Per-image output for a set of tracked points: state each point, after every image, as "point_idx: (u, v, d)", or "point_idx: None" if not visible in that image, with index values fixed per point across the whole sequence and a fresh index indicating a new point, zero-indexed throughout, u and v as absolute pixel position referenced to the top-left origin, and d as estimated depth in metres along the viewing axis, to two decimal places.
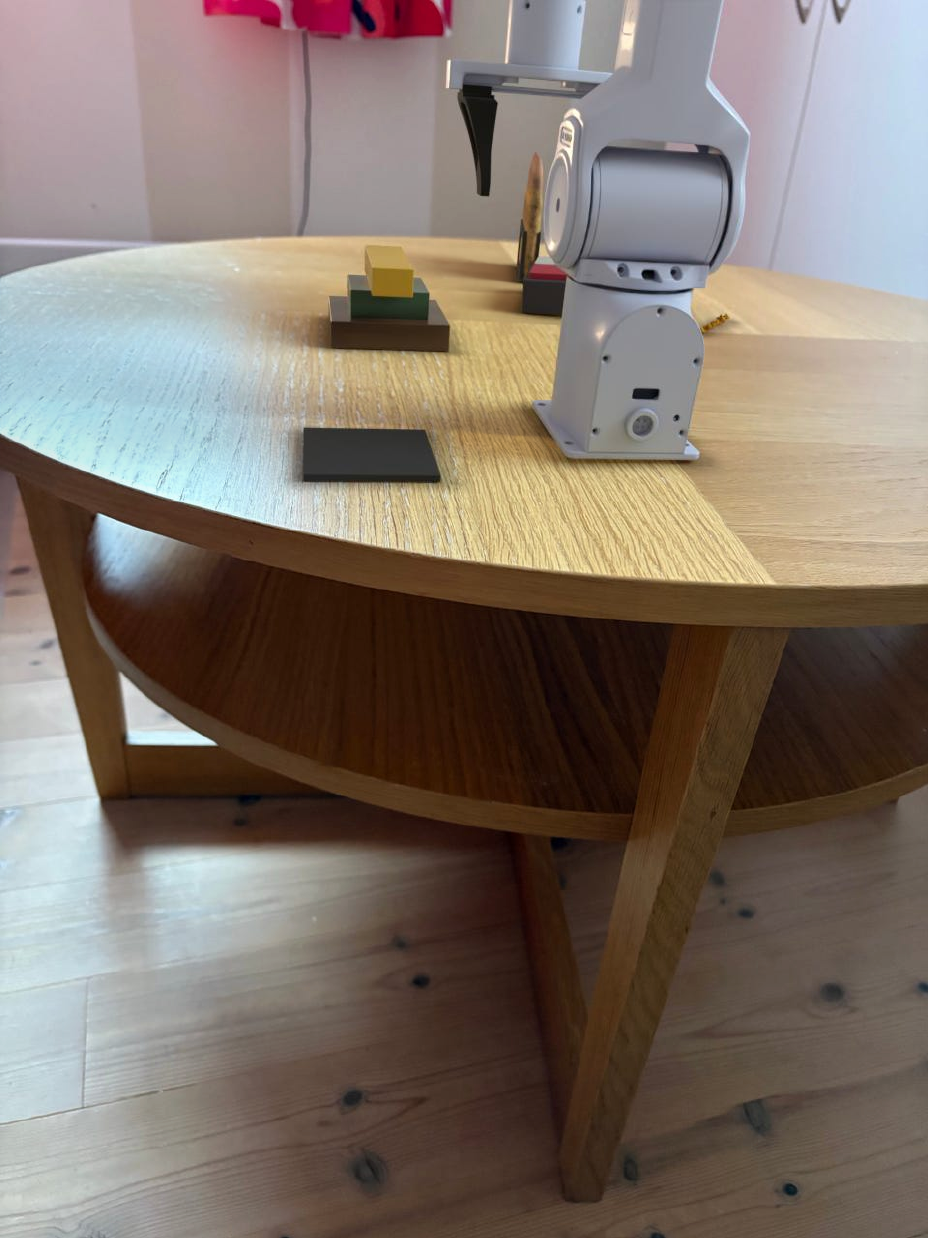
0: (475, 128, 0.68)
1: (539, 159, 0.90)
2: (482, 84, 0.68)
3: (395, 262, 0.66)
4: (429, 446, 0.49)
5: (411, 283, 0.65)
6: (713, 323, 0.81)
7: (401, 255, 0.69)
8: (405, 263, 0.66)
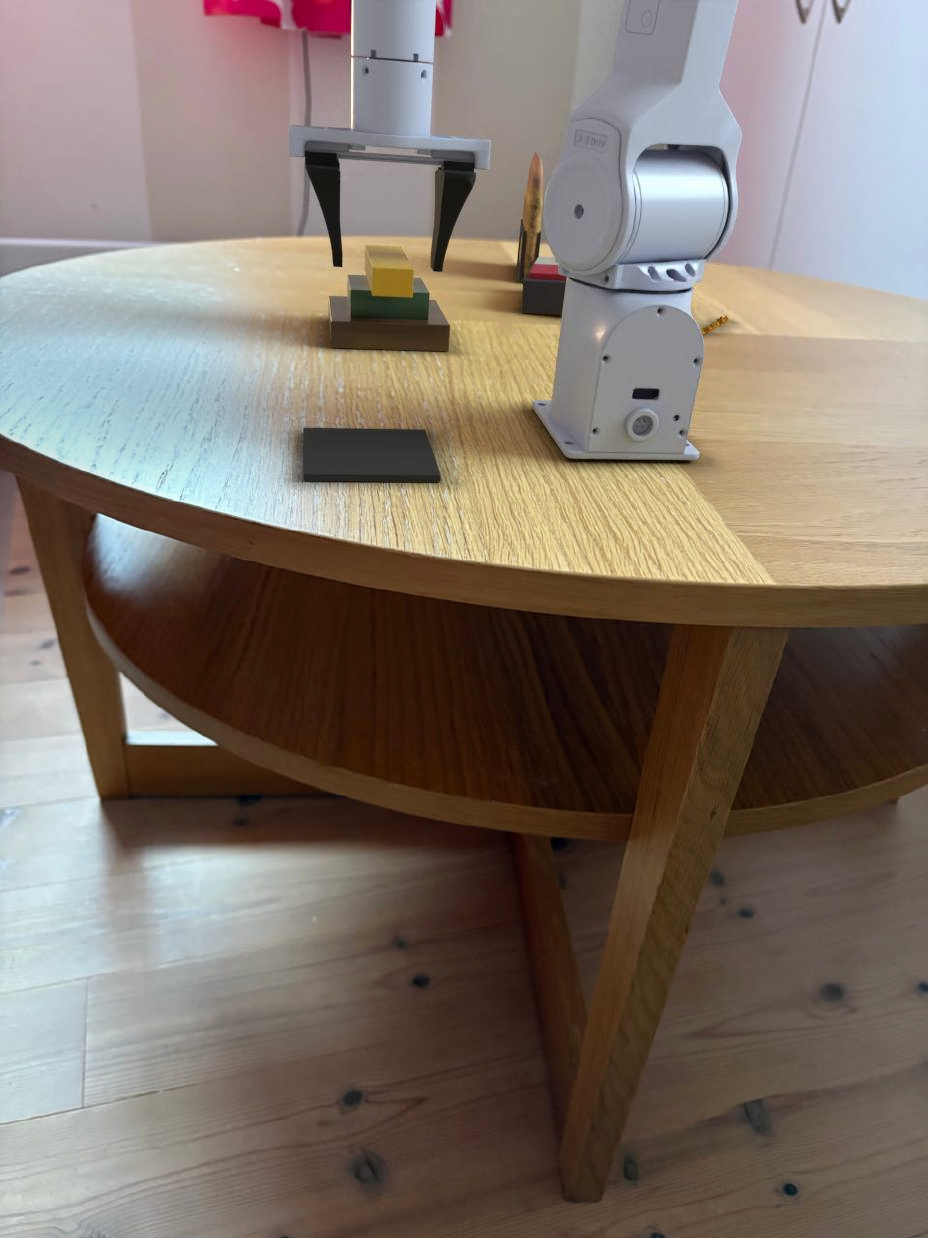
0: (319, 198, 0.64)
1: (539, 159, 0.90)
2: (327, 151, 0.64)
3: (395, 262, 0.66)
4: (429, 446, 0.49)
5: (411, 283, 0.65)
6: (713, 325, 0.81)
7: (401, 255, 0.69)
8: (405, 263, 0.66)
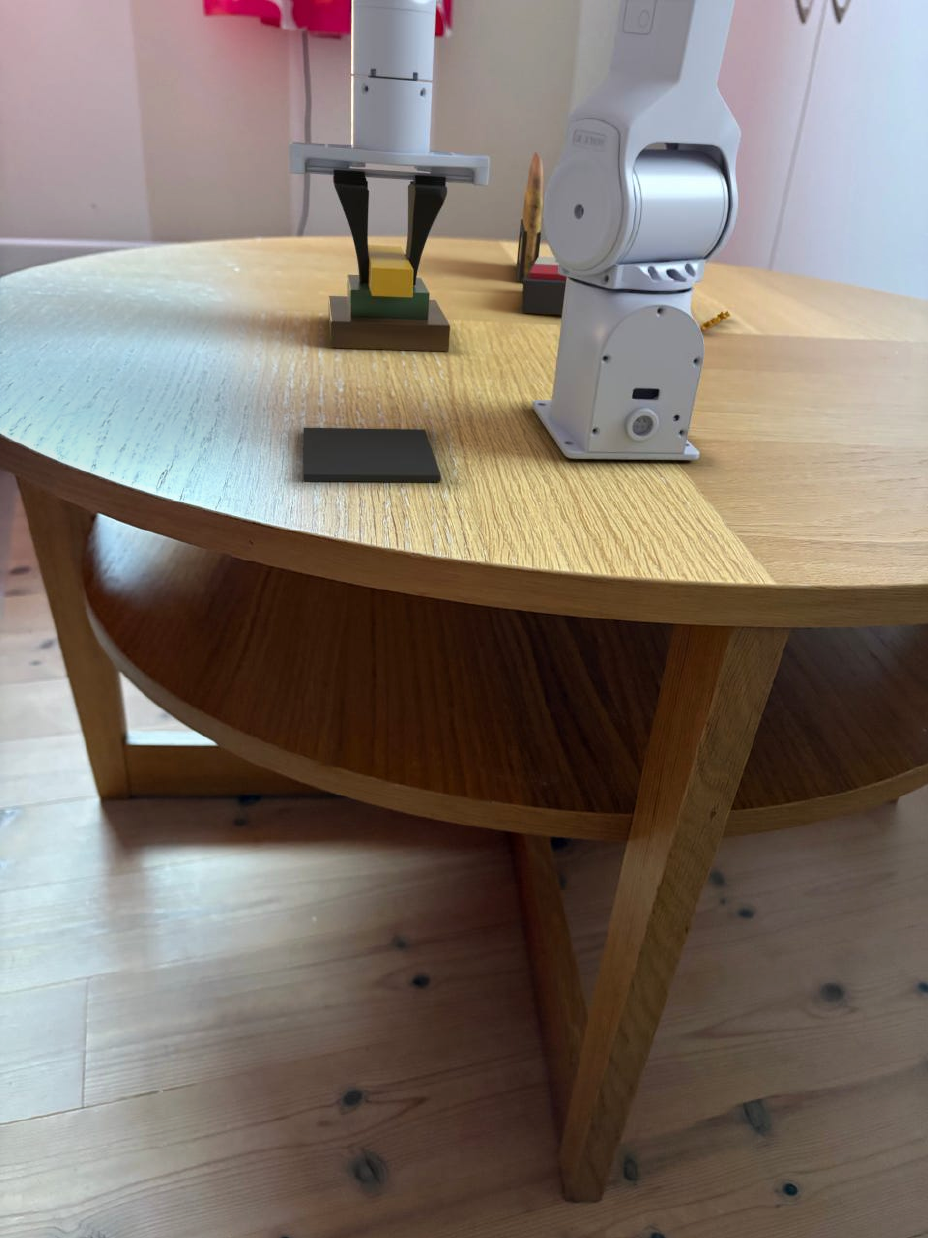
0: (348, 216, 0.65)
1: (539, 159, 0.90)
2: (327, 168, 0.64)
3: (395, 262, 0.66)
4: (429, 446, 0.49)
5: (411, 283, 0.65)
6: (714, 320, 0.81)
7: (401, 255, 0.69)
8: (405, 263, 0.66)
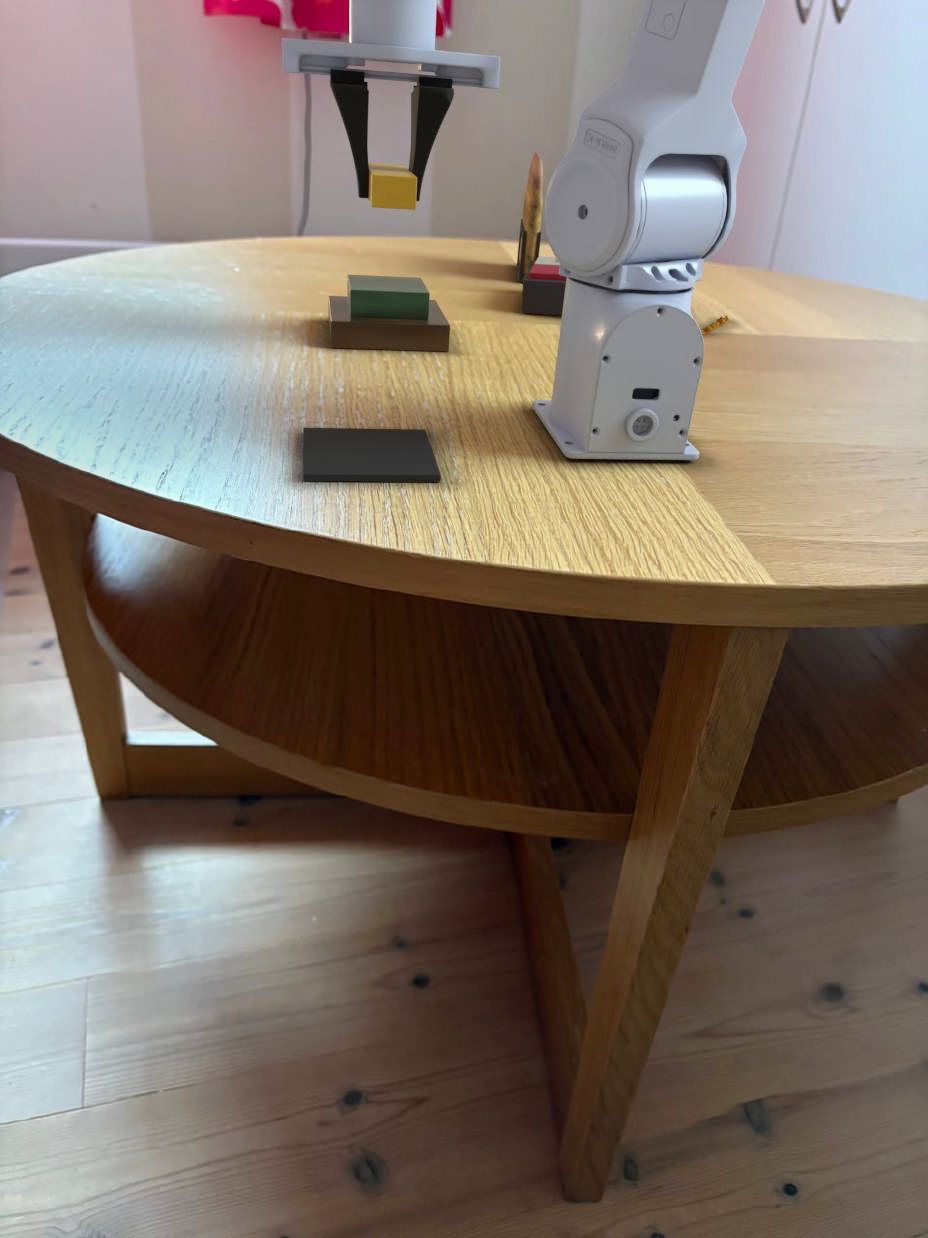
0: (346, 120, 0.60)
1: (539, 159, 0.90)
2: (324, 67, 0.59)
3: (397, 172, 0.61)
4: (429, 446, 0.49)
5: (414, 193, 0.60)
6: (713, 325, 0.81)
7: (403, 169, 0.64)
8: (408, 173, 0.61)
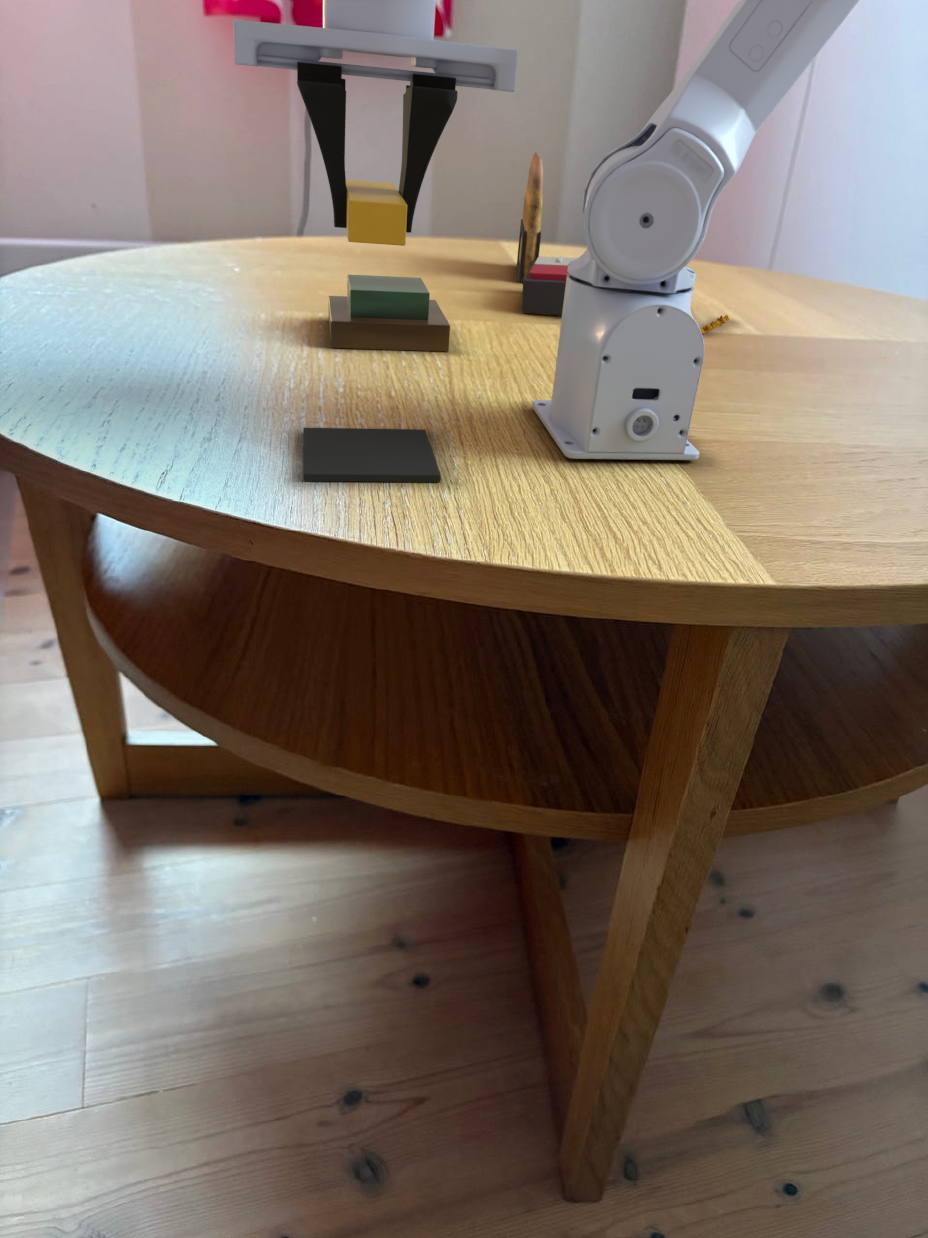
0: (316, 128, 0.46)
1: (539, 159, 0.90)
2: (289, 60, 0.46)
3: (382, 197, 0.47)
4: (429, 446, 0.49)
5: (403, 225, 0.46)
6: (713, 324, 0.81)
7: (392, 191, 0.50)
8: (396, 198, 0.47)
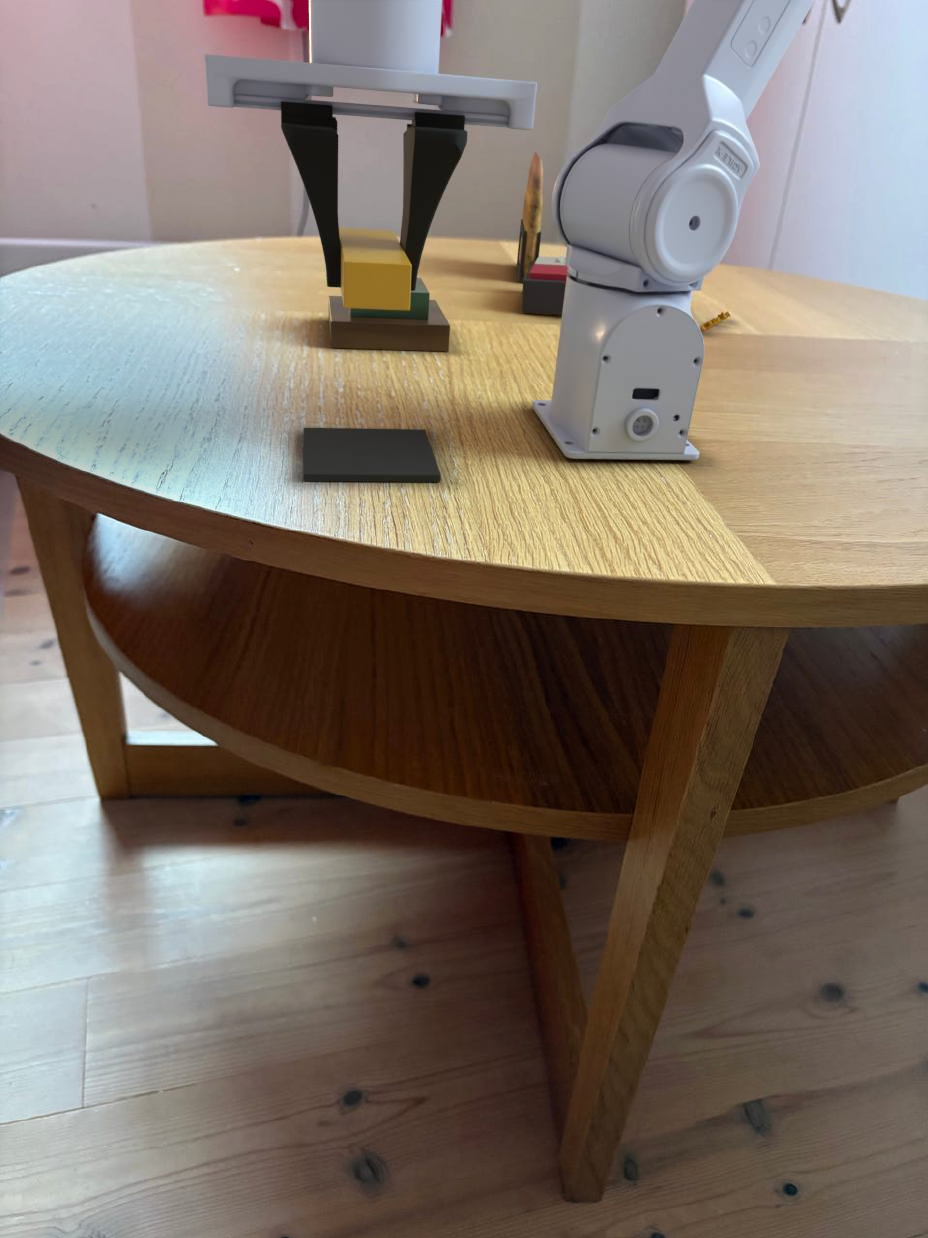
0: (305, 178, 0.40)
1: (539, 159, 0.90)
2: (271, 99, 0.39)
3: (382, 253, 0.41)
4: (429, 446, 0.49)
5: (407, 287, 0.40)
6: (714, 320, 0.81)
7: (392, 243, 0.44)
8: (398, 255, 0.41)
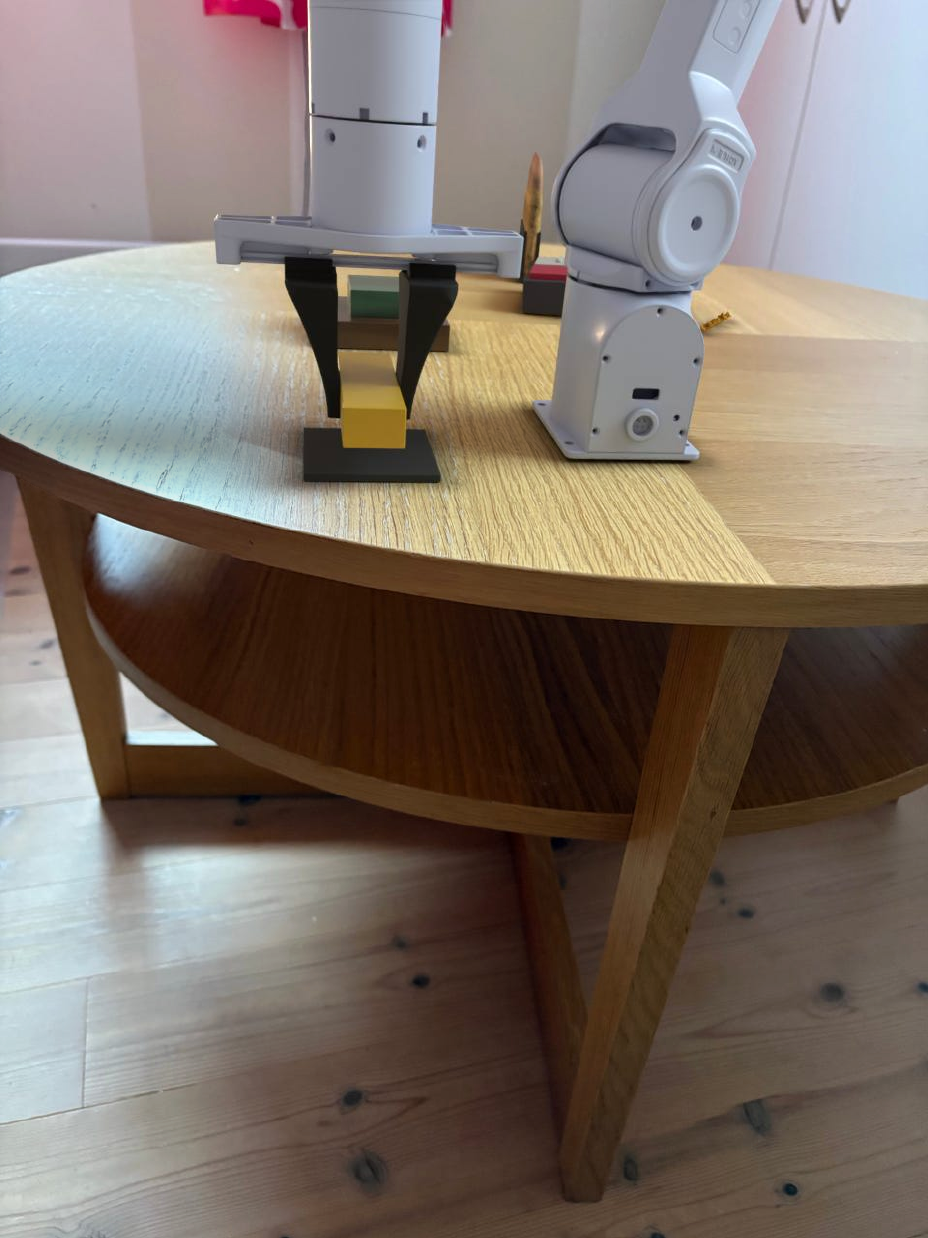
0: (307, 327, 0.42)
1: (539, 159, 0.90)
2: (275, 255, 0.42)
3: (379, 393, 0.44)
4: (429, 446, 0.49)
5: (403, 429, 0.43)
6: (714, 321, 0.81)
7: (389, 374, 0.47)
8: (394, 394, 0.44)
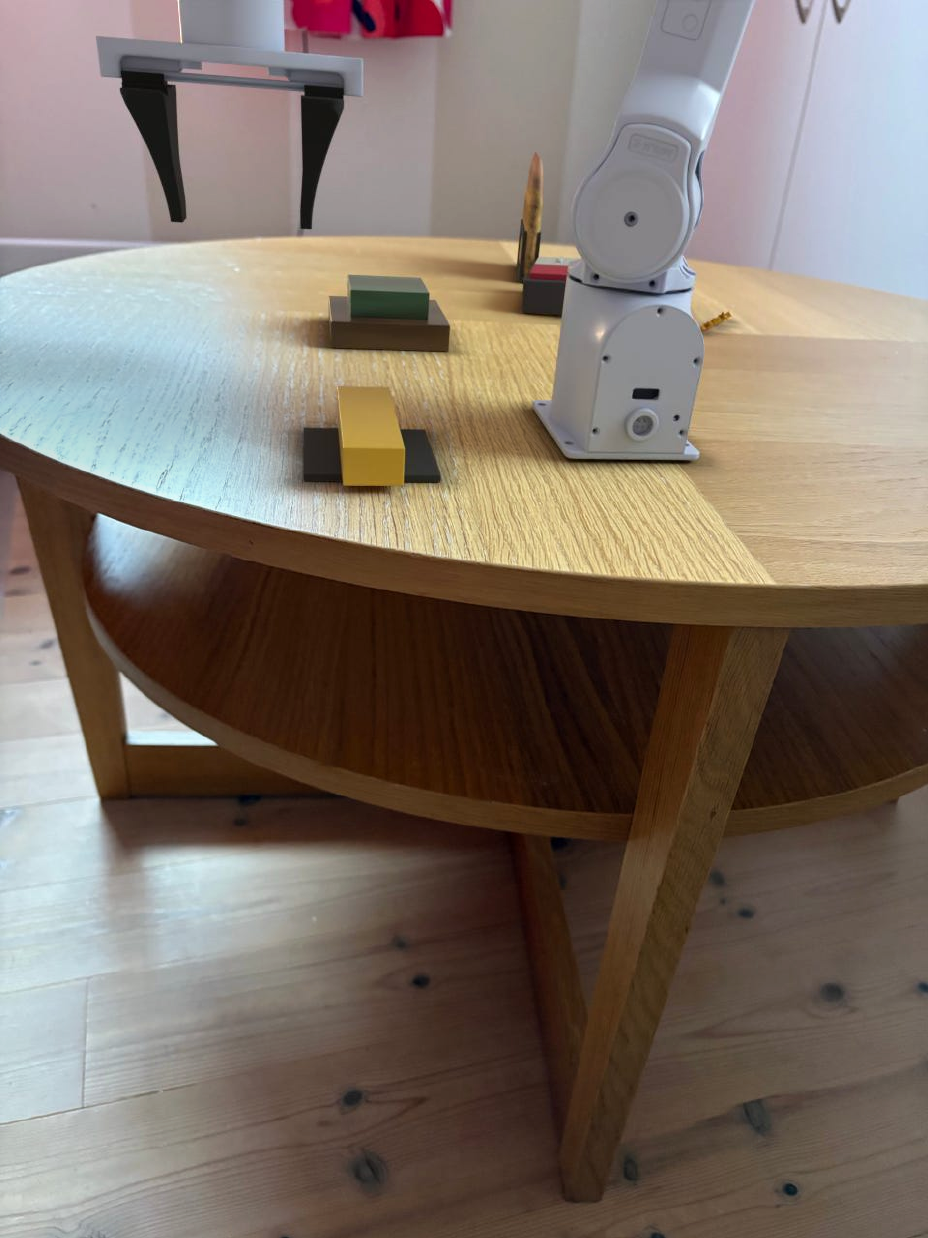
0: (142, 131, 0.50)
1: (539, 159, 0.90)
2: (151, 71, 0.50)
3: (378, 431, 0.45)
4: (429, 446, 0.49)
5: (401, 467, 0.44)
6: (714, 321, 0.81)
7: (388, 410, 0.48)
8: (393, 432, 0.45)
